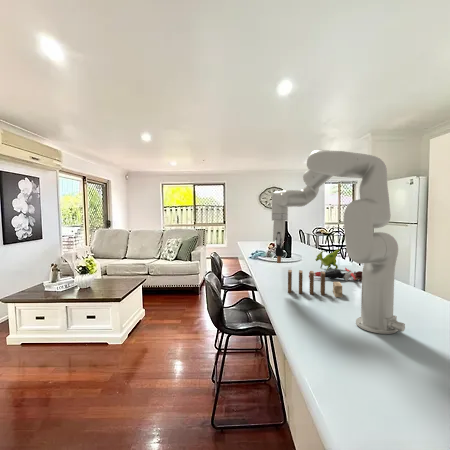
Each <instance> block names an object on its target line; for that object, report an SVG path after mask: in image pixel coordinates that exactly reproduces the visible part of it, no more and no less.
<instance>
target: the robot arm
mask: <svg viewBox="0 0 450 450" xmlns="http://www.w3.org/2000/svg"><path fill="white" fill-rule="evenodd" d="M306 167H307V170H306V171H305V172H304V173H303V176H302V179H303V182H304V183H305V185H306V186H305V187H304V188H302V189H301V190H298V189H295V190H293V189H284V190H281V191H279V190H278V191H274V192H272V194H271V221H273V227H272V228H273V229H272V231H273V232H272V233H273V234H272V241H273V242H275V248H274V249H275V252H274V253H275V254H274V255H275V257H277V256H281V257H283V255H284V246H283V245H284V244H283V243H284V241H285V235H286V234H285V233H286V221H289V218H288V216H289V213H288V212H289V208H292V207H294V208H300V207H301V208H302V207H305V206H307V205H308V204H309V203H311V202H313V201H314V200H315V198H316V197H317V196H318V195H319V191H320V187H321V186H323V185H324V184H325V183H326V182H328V181H329V180H330V179H331V178H332V177H339V178H348V179H349V178H350V179H351V178H353V179H361V181H360V184H359V187H358V188H359V199H355V200H353V201H351V202H349V203H348V205H346V208H345V209H344V212H343V226H344V239H345V240H344V241H345V248H346V249H345V250H346V253H347V255H348V257H349V258H350V260H351V261H353V262H354V263H356V264H361V265H362V264H363V267H362V271H361V272H362V281H361V298H360V299H361V300H360V301H361V305H360V306H361V309H360V317H358V318H356V319H355V324H356V326H358V327H359V328H360V329H362V330H365V331H367V332H370V333H375V334H380V335H381V334H382V335H392V334H395V333H397V332H403V333H404V331H405V330H406V323H404V322H401V321H398V320H397V316H396V315H394V305H395V303H394V302H395V301H394V300H395V276H396V275H395V274H396V273H395V272H396V265H397V260H398V259H397V258H398V255H399V244H398V242H397V239H396V238H395V237H394V236H393V235H391V234H390V233H387V232H381V231H378V232H377V231H376V232H374V229H380V228H384V227H385V226H387V225H388V224H389V222H390V221H391V208H390V207H391V205H390V204H391V203H390V197H389V188H388V170H387V165H386V164H385V162H384V161H383V159H381V158H380V157H378V156H375V155H372V154H366V153H359V152H351V151H345V150H343V151H342V150H330V149H329V150H327V149H315V150H313V151H312V152H311V153H310V154H309V155H308V157H307V159H306Z"/></svg>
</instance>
